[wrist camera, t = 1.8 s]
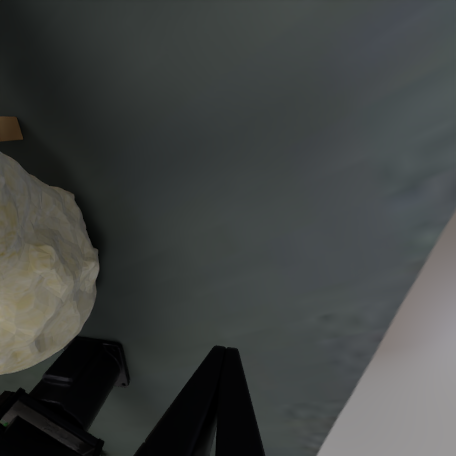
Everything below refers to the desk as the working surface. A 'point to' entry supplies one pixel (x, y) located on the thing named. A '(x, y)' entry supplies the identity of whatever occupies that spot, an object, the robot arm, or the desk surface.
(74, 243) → the pale lumpy rock
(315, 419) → the desk surface
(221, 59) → the desk surface
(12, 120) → the corner stop
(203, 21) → the desk surface
